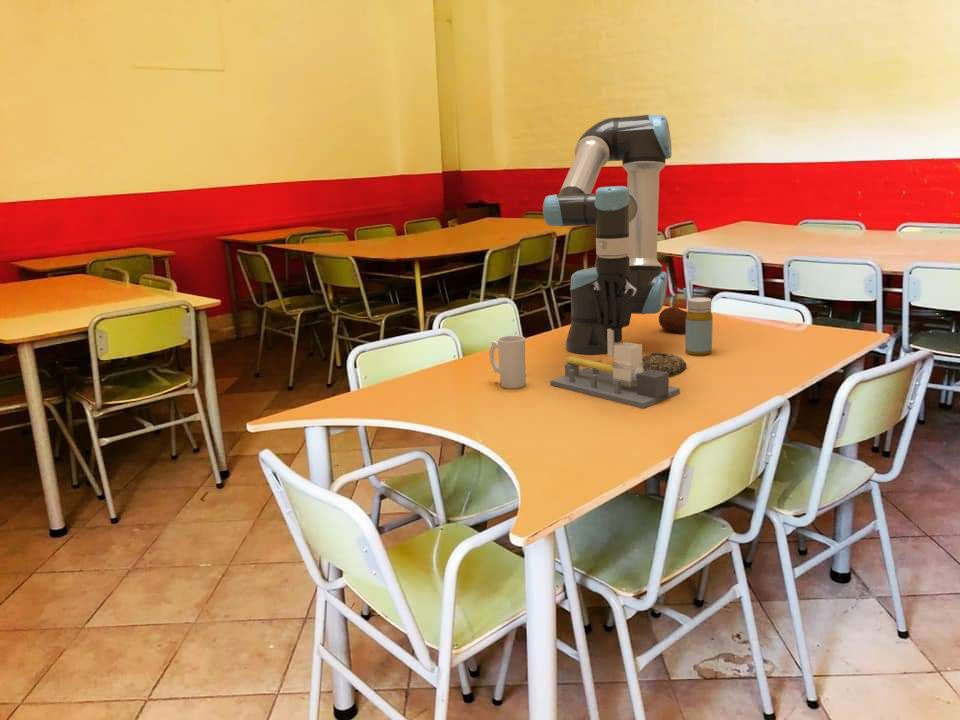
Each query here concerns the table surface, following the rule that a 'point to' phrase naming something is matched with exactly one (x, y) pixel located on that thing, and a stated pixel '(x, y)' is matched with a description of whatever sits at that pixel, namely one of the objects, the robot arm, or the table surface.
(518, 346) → the mug
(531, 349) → the table surface
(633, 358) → the sleeve
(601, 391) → the yellow rod slider
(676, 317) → the potato
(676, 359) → the bread roll
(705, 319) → the bottle
